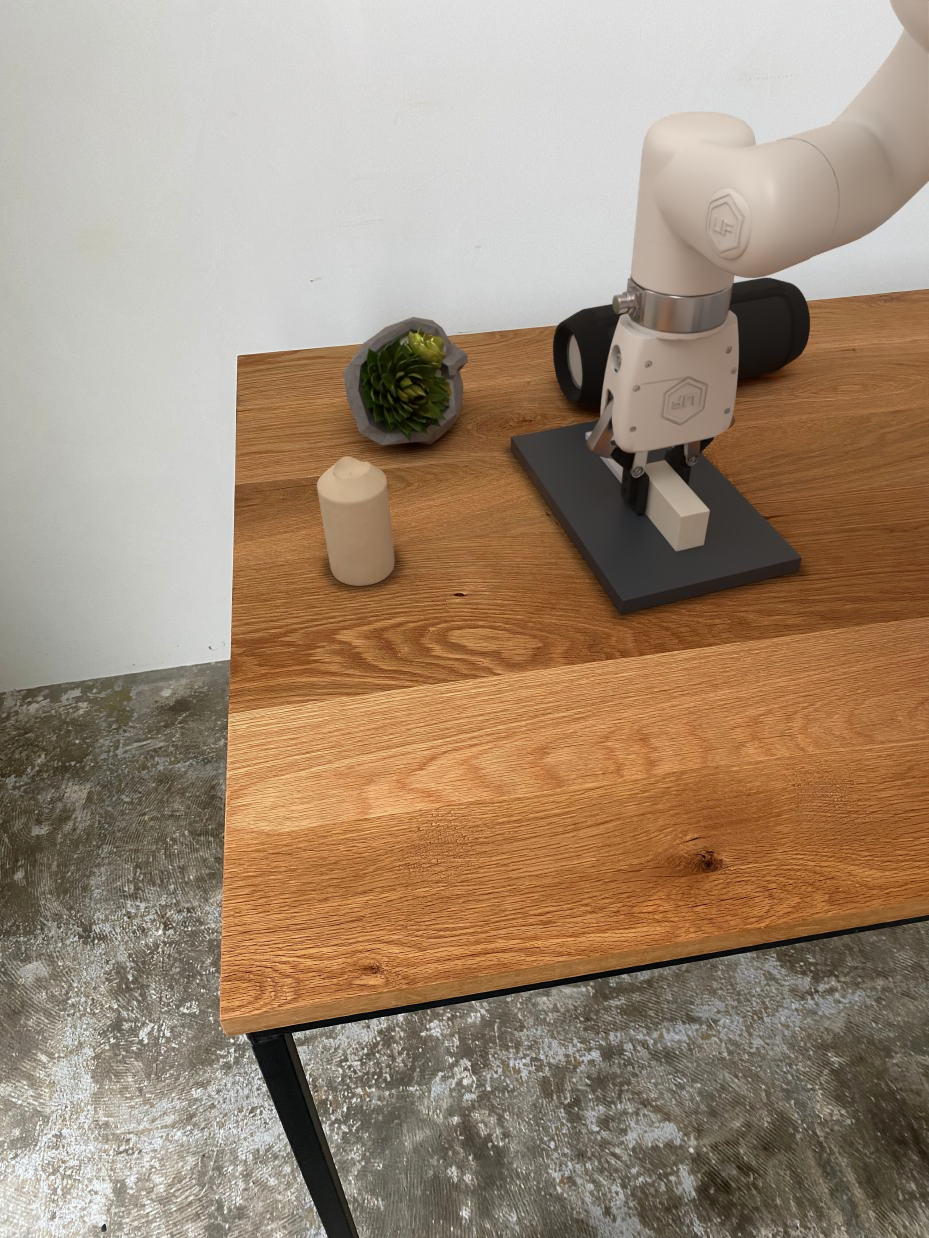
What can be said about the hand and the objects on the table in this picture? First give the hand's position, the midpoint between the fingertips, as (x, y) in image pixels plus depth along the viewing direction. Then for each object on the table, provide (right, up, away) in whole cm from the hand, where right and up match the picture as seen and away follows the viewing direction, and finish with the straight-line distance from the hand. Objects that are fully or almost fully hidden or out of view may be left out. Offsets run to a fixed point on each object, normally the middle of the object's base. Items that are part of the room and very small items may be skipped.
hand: (652, 500), depth 82 cm
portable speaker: (+6, +15, +19) cm, 25 cm away
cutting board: (0, 0, +3) cm, 3 cm away
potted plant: (-21, +8, +13) cm, 26 cm away
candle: (-25, -6, -3) cm, 26 cm away
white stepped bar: (-1, +1, +2) cm, 2 cm away
